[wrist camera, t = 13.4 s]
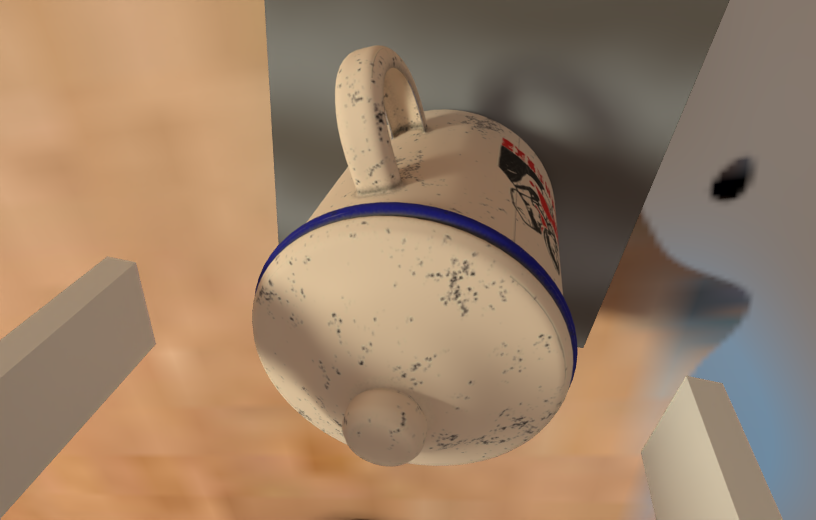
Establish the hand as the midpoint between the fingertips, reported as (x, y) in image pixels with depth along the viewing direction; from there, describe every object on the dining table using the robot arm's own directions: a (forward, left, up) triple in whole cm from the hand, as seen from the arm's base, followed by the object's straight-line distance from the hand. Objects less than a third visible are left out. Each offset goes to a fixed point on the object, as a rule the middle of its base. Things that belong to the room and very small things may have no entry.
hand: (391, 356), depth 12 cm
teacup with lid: (0, 0, -10) cm, 10 cm away
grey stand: (0, 0, -14) cm, 14 cm away
